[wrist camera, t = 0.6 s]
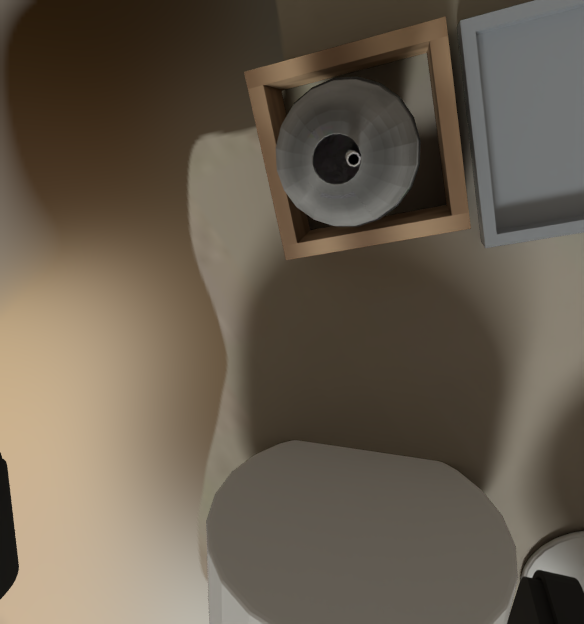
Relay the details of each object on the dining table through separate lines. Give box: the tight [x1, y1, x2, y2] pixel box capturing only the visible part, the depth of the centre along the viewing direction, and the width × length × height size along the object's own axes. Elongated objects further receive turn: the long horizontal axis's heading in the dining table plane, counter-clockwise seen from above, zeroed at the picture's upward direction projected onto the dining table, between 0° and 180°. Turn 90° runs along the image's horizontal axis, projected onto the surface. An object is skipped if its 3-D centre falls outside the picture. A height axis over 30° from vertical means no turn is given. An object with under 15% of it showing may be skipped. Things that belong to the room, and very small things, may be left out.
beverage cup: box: [276, 77, 420, 227], centre depth 28 cm, size 7×7×20 cm
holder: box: [245, 16, 471, 260], centre depth 35 cm, size 12×12×5 cm
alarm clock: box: [206, 440, 518, 624], centre depth 37 cm, size 21×8×20 cm, turn 88°
